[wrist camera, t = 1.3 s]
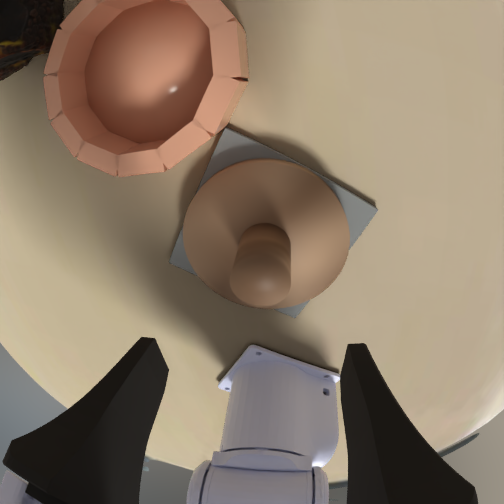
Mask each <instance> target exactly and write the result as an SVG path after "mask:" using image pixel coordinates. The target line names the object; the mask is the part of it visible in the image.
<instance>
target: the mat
mask: <svg viewBox="0 0 504 504" xmlns="http://www.w3.org/2000/svg"><path fill="white" fill-rule="evenodd" d="M257 158H274V159H280V160H286V161H289V162H292V163H296V164H298V165H300V166H302V167H305V168H307V169H309V170H310V171H312V172H313V173H315V174H316V175H318V176H319V177H320V178H321V179H322V180H324V181H325V182H326V183H327V184H328V185H329V187H330V188H331V189H332V190H333V191H334V193H335V194H336V196H337V197H338V199H339V201H340V203H341V205H342V207H343V210H344V212H345V215H346V218H347V221H348V225H349V232H350V246H349V250H350V248H351V247H352V246H353V244H354V243H355V242H356V240H357V239H358V237H359V236H360V235H361V233H362V232H363V231H364V229H365V228H366V226H367V225H368V224H369V222H370V221H371V220H372V218H373V217H374V215H375V214H376V212H377V211H378V209H377V208H376V207H375V206H373V205H372V204H370V203H369V202H367V201H365V200H364V199H362V198H360V197H359V196H357V195H355V194H354V193H352V192H350V191H349V190H347V189H345V188H344V187H342V186H340V185H338V184H337V183H335V182H333V181H332V180H330V179H328V178H326V177H324V176H323V175H321V174H319V173H317V172H315V171H314V170H312V169H310V168H308V167H306V166H304V165H303V164H301V163H299V162H297V161H295V160H293V159H291V158H289V157H287V156H285V155H284V154H282V153H280V152H278V151H276V150H274V149H272V148H270V147H268V146H266V145H264V144H262V143H260V142H257V141H255V140H253V139H251V138H249V137H247V136H245V135H243V134H241V133H238V132H236V131H234V130H232V129H230V128H227V127H226V128H225V129H224V131H223V133H222V136H221V138H220V140H219V142H218V144H217V146H216V149H215V151H214V153H213V155H212V157H211V160H210V162H209V164H208V166H207V169H206V171H205V173H204V176H203V178H202V180H201V182H200V185H199V187H198V190H197V192H198V191H199V189H200V188H201V187H202V186H203V184H204V183H205V182H206V181H207V180H208V179H209V178H210V177H212V176H213V175H214V174H216V173H217V172H218V171H220V170H222V169H224V168H225V167H227V166H229V165H232V164H235V163H237V162H241V161H245V160H249V159H257ZM197 192H196V194H197ZM196 194H195V195H196ZM169 263H170V264H173V265H175V266H177V267H179V268H181V269H183V270H186V271H188V272H190V273H192V274H194V275H196V276H198V275H197V274H196V272H195V271H194V269H193V268H192V266H191V264H190V262H189V260H188V258H187V255H186V252H185V248H184V242H183V226H182V229H181V231H180V234H179V236H178V239H177V242H176V244H175V247H174V250H173V252H172V255H171V258H170V260H169ZM309 301H310V300H308V301H306V302H304V303H301V304H298V305H295V306H291V307H286V308H279V309H274V310H277V311H279V312H281V313H284V314H286V315H289V316H291V317H294V318H296V316H297V315H298V314H299V313H300V312H301V310H302V309H303V308H304V307H305V306H306V304H307V303H308V302H309Z"/></svg>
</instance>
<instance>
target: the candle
mask: <svg viewBox="0 0 504 504" xmlns="http://www.w3.org/2000/svg"><path fill="white" fill-rule="evenodd" d="M63 13H64V12H63V0H0V80H4V79H5V78H7V77H8V76H10V75H11V74H13V73H14V72H17V71H18V70H20V69H22V68H23V66H27V65H28V63H29V61H30V60H31V59H32V58H33V57H34V56H37V55H41V54H46V53H49V52H50V49H51V46H52V43H53V40H54V37H55V34H56V32H57V29H62V28H61V27H60V24H61V23H62V18H63Z"/></svg>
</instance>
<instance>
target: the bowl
mask: <svg viewBox="0 0 504 504" xmlns="http://www.w3.org/2000/svg"><path fill="white" fill-rule="evenodd" d="M60 27H61V28H62V29H57V32H56V34H55V37H54V40H53V43H52V46H51V49H50V52H49V56H48V59H47V62H46V66H45V69H44V74H48V75H47V76H45V77H43V82H44V90H45V98H46V105H47V111H48V117H49V120H51V119H53V121H52V122H51V125H52V127H53V128H54V130H55V131H56V133H57V134H58V135H59V137H60V138H61V140H62V141H63V142H64V144H65V145H66V147H67V148H68V149H69V151H70V152H71V153H72V155H73V156H74V157H76V156H78V157H77V160H79V161H81V162H84V163H86V164H88V165H90V166H92V167H95V168H97V169H99V170H101V171H104V172H106V173H108V174H110V175H112V176H117V175H118V176H119V177H125V176H132V175H140V174H148V173H157V172H165V171H166V170H167V169H168V170H169V169H171V168H172V167H173V166H174V165H176V164H177V163H178V162H180V161H181V160H182V159H184V158H185V157H186V156H188V155H189V154H190V153H192V152H193V151H194V150H196V149H197V148H199V147H200V146H201V145H203V144H204V143H205V142H207V141H208V140H210V139H211V138H212V137H214V136H215V135H216V134H217V133H219V132H220V131H221V130H223V129H224V128H225V126H226V125H228V123H229V120H230V118H231V116H232V114H233V112H234V110H235V108H236V106H237V104H238V102H239V100H240V98H241V96H242V94H243V92H244V90H245V88H246V86H247V84H248V82H247V81H245V80H243V78H249V66H248V54H247V43H246V32H245V31H244V30H243V29H244V28H243V27H242V25H241V24H240V23H239V22H238V20H237V19H236V18H235V17H234V15H233V14H232V13H231V12H230V11H229V10H228V8H227V7H226V6H225V5H224V4H223V3H222V2H221V0H82V1H81V2H80V3H79V4H78V5H77V6H76V7H75V8H74V9H73V10H72V11H71V13H70V14H69V15H68V16H67V17H66V18H65V19H64V21H63V22H62V23H61V24H60Z"/></svg>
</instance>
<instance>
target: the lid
mask: <svg viewBox="0 0 504 504" xmlns="http://www.w3.org/2000/svg"><path fill="white" fill-rule="evenodd" d="M183 242H184V248H185V252H186V255H187V258H188V260H189V262H190V264H191V266H192V268H193V269H194V271H195V272H196V274H197V275H198V276H199V278H200V279H201V280H202V281H203V282H204V283H205V284H206V285H207V286H208V287H209V288H211V289H212V290H213V291H214V292H216V293H218V294H219V295H221V296H222V297H224V298H226V299H228V300H230V301H232V302H235V303H238V304H240V305H244V306H248V307H253V308H260V309H279V308H286V307H291V306H295V305H298V304H301V303H304V302H306V301H308V300H310V299H312V298H314V297H316V296H317V295H319V294H320V293H322V292H323V291H324V290H325V289H327V288H328V287H329V286H330V285H331V284H332V283H333V282H334V280H335V279H336V278H337V276H338V275H339V274H340V272H341V270H342V268H343V266H344V264H345V262H346V259H347V256H348V252H349V246H350V232H349V225H348V221H347V218H346V215H345V212H344V210H343V207H342V205H341V203H340V201H339V199H338V197H337V196H336V194H335V193H334V191H333V190H332V189H331V188H330V187H329V185H328V184H327V183H326V182H325V181H324V180H322V179H321V178H320V177H319V176H318V175H316V174H315V173H313V172H312V171H310V170H309V169H307V168H305V167H302V166H300V165H298V164H296V163H292V162H289V161H286V160H280V159H274V158H257V159H249V160H245V161H241V162H237V163H235V164H232V165H229V166H227V167H225V168H224V169H222V170H220V171H218V172H217V173H216V174H214V175H213V176H212V177H210V178H209V179H208V180H207V181H206V182H205V183H204V184H203V186H202V187H201V188H200V189H199V191H198V192H197V194H196V195H195V196H194V198H193V199H192V201H191V203H190V205H189V207H188V209H187V212H186V215H185V218H184V224H183Z"/></svg>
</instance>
